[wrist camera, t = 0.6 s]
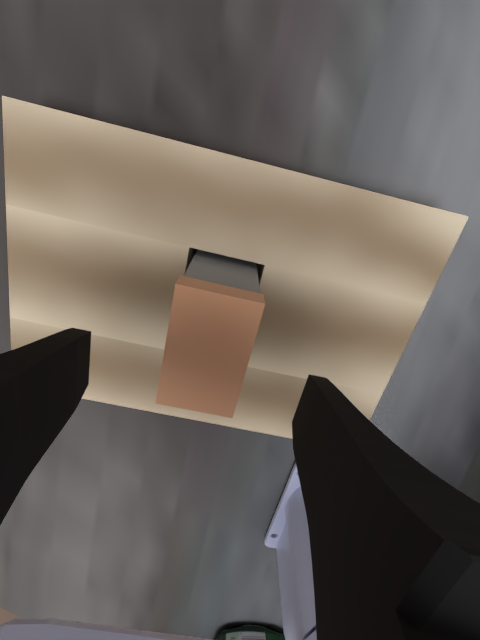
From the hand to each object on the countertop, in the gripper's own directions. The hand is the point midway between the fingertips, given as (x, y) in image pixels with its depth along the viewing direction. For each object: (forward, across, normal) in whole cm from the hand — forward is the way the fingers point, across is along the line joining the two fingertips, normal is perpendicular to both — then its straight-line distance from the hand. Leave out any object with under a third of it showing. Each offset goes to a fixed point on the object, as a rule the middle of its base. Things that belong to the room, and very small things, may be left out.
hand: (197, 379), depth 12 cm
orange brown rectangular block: (+9, 0, 0) cm, 9 cm away
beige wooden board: (+9, 0, 0) cm, 9 cm away
